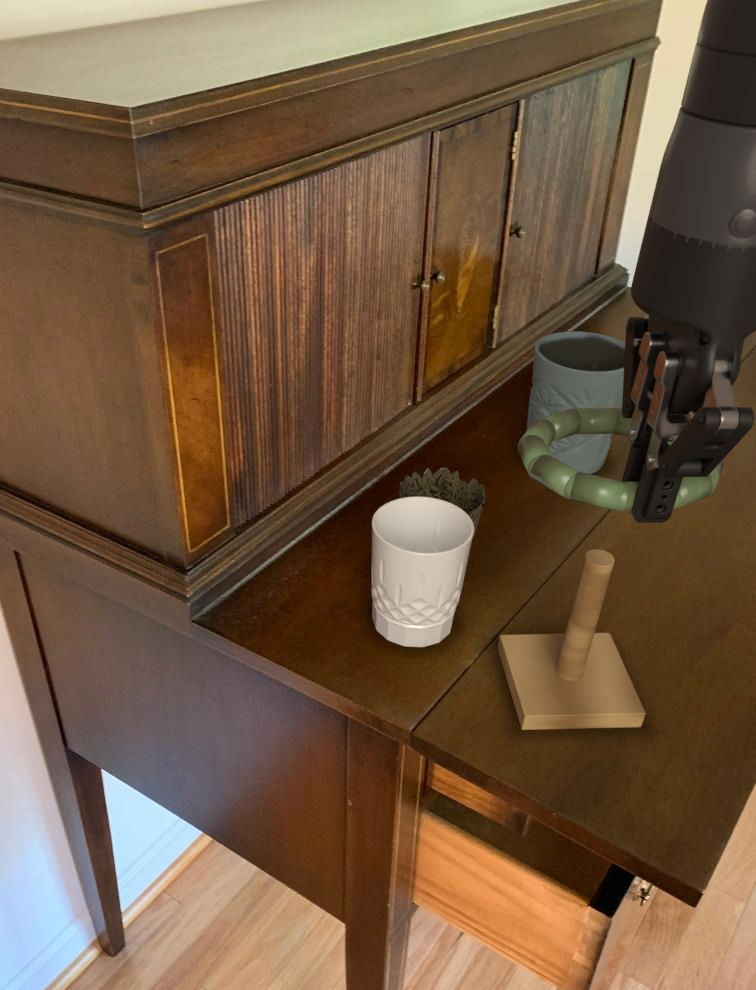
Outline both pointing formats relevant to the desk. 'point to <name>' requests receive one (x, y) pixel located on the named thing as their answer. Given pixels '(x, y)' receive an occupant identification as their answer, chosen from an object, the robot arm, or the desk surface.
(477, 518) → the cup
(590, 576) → the post
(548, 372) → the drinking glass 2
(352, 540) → the desk surface
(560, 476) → the ring
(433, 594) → the white cup
